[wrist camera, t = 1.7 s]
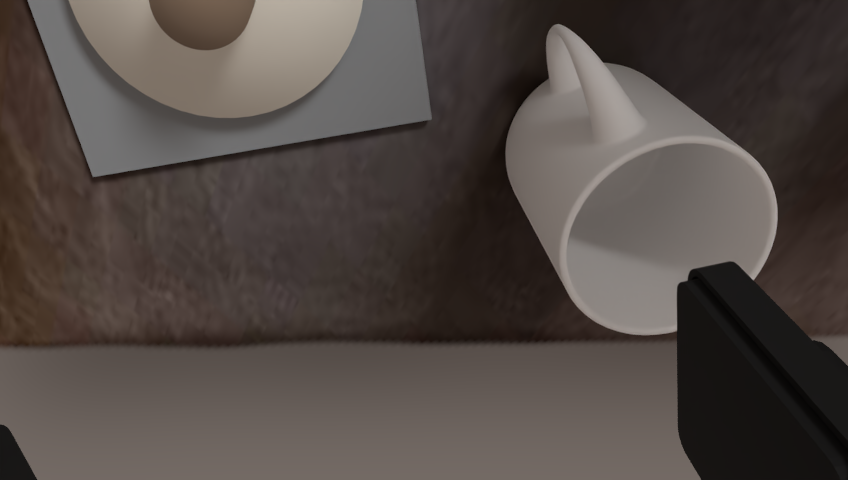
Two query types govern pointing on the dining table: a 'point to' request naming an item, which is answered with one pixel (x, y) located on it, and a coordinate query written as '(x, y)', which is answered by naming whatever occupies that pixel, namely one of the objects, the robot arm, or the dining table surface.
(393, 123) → the mat
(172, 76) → the lid
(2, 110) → the dining table surface
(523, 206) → the mug
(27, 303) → the dining table surface
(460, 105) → the dining table surface
